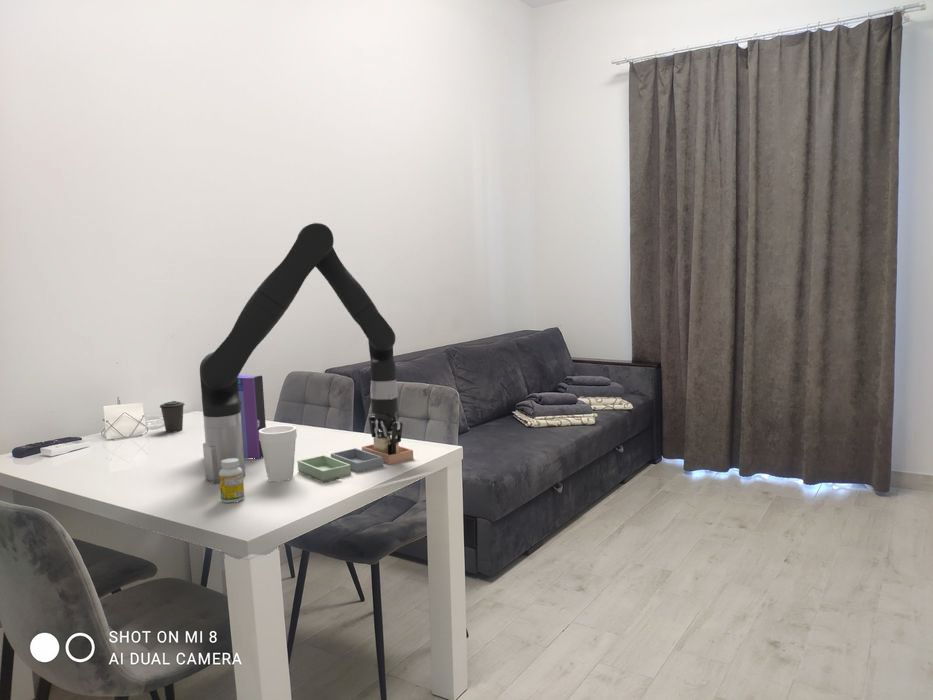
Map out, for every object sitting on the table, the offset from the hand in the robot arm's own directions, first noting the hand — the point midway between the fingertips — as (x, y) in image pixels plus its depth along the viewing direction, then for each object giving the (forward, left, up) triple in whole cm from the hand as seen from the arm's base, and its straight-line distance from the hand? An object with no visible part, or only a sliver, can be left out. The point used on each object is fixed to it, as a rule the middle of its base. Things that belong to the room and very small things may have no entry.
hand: (386, 454), depth 198 cm
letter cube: (0, 0, 0) cm, 0 cm away
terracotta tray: (0, 0, -1) cm, 1 cm away
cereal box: (-29, +36, -1) cm, 46 cm away
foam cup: (-30, +5, -1) cm, 30 cm away
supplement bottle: (-46, -3, -1) cm, 46 cm away
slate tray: (-10, 0, -1) cm, 10 cm away
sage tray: (-20, 0, -1) cm, 20 cm away
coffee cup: (-31, +87, -1) cm, 92 cm away
